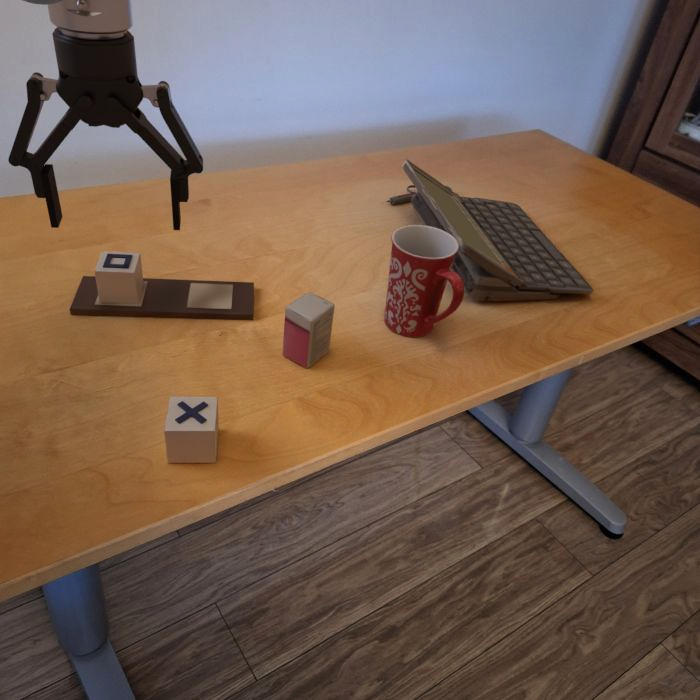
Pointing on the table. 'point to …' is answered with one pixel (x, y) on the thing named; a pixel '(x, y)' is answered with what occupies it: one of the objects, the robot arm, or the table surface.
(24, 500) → the table surface
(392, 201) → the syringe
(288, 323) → the small box
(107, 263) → the tile
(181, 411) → the tile
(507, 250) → the laptop
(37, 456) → the table surface
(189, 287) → the word board
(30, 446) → the table surface
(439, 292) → the mug
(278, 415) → the table surface
